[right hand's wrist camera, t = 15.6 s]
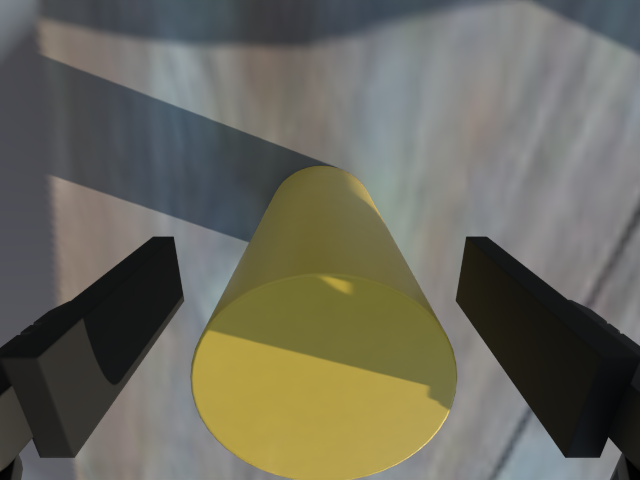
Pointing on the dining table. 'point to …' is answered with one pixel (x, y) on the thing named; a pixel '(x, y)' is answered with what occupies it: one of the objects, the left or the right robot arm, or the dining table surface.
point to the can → (323, 341)
